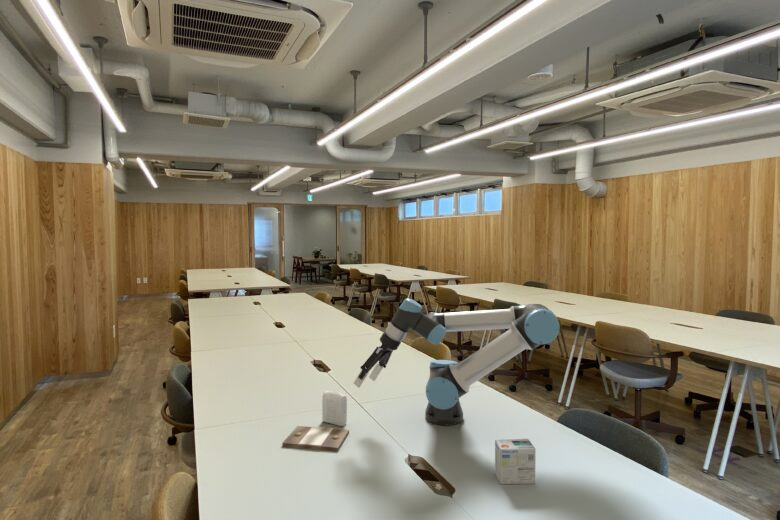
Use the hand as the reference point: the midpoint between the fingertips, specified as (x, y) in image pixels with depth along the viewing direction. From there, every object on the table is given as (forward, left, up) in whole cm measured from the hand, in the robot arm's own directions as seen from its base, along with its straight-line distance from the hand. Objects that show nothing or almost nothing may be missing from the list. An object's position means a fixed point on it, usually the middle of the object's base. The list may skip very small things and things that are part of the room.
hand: (364, 382), depth 167 cm
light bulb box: (-53, +28, -17) cm, 62 cm away
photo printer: (+12, -1, -17) cm, 21 cm away
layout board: (+14, +14, -17) cm, 26 cm away
